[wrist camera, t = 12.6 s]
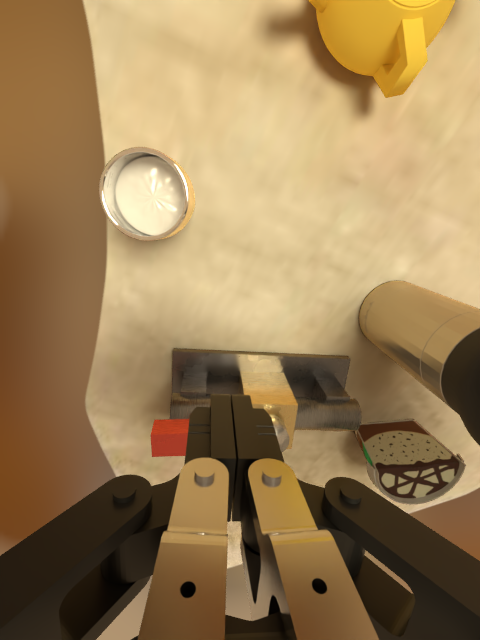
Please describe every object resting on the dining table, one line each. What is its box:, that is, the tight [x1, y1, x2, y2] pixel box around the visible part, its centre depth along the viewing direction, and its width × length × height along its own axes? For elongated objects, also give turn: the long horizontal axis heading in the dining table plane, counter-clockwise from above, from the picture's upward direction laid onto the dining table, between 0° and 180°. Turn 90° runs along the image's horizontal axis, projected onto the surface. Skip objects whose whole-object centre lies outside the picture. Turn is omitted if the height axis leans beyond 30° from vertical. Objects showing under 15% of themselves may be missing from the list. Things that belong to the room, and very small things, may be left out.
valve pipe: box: [170, 348, 361, 449], centre depth 44 cm, size 24×11×9 cm, turn 85°
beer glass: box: [99, 147, 195, 241], centre depth 32 cm, size 7×7×15 cm
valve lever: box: [151, 414, 289, 457], centre depth 38 cm, size 15×4×3 cm, turn 89°
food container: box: [354, 419, 466, 505], centre depth 48 cm, size 12×6×10 cm, turn 92°
